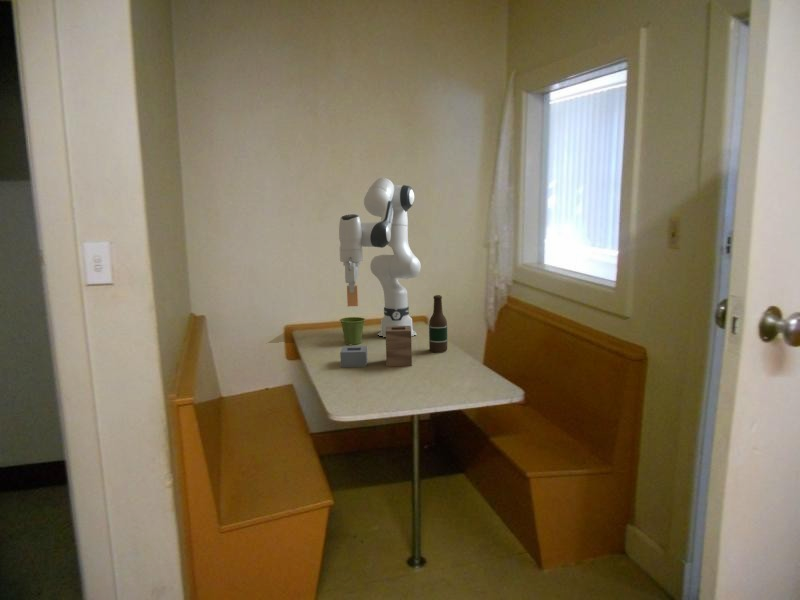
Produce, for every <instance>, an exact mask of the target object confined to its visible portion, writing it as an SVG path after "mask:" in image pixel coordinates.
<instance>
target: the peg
mask: <svg viewBox="0 0 800 600" xmlns="http://www.w3.org/2000/svg"><path fill="white" fill-rule="evenodd" d="M346 298H347V299H346V300H347V301H346V302H347V307H358V306H359V289H358V284H355V285H354V293H350V290H349V284H347V285H346Z"/></svg>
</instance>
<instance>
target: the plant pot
mask: <svg viewBox="0 0 800 600" xmlns="http://www.w3.org/2000/svg"><path fill="white" fill-rule="evenodd" d="M365 321H366V318H364V317H359V316H351V317H349V316H348V317H343V318H340V319H339V322H340V324H341V327H342V332H343V337H344V338H343V339H344V343H345V344H346V343H347V344H346V345H349V344H353V345H356V344H357V345H359V344H358V343H360V344H361V343H362V338H363V329H364V326H365Z"/></svg>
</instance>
